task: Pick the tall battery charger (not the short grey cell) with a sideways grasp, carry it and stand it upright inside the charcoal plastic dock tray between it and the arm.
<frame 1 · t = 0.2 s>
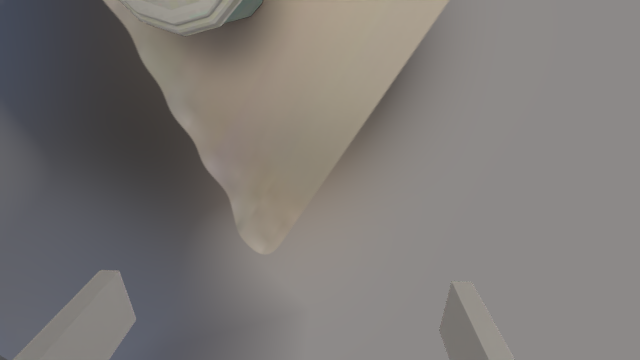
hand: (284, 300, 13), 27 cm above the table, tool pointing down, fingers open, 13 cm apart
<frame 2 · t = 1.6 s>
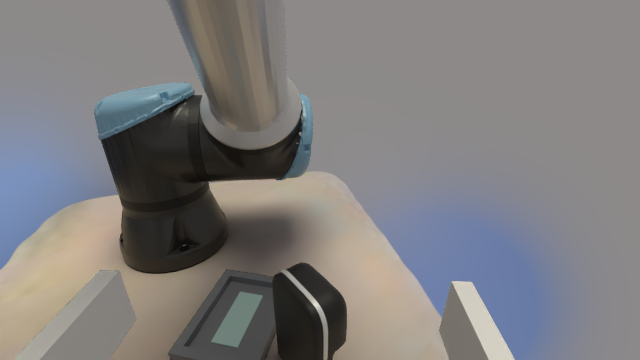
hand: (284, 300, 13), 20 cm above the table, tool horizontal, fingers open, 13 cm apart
dock: (239, 321, 35), on the table
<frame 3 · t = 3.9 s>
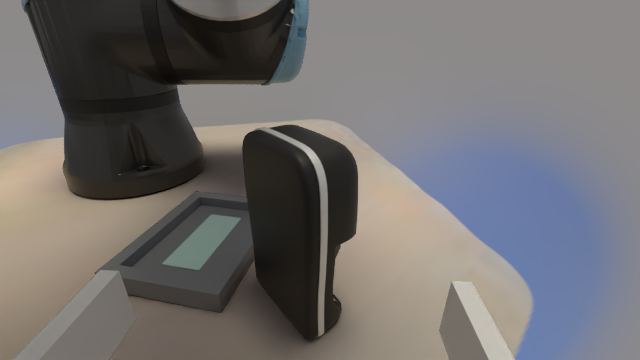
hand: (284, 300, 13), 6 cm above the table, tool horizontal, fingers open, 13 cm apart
battery charger: (303, 298, 21), on the table
dock: (207, 245, 26), on the table
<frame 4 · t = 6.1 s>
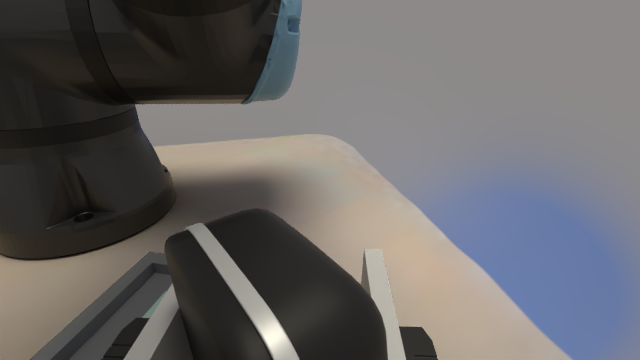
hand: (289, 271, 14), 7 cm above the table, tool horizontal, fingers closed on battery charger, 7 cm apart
dock: (151, 349, 18), on the table
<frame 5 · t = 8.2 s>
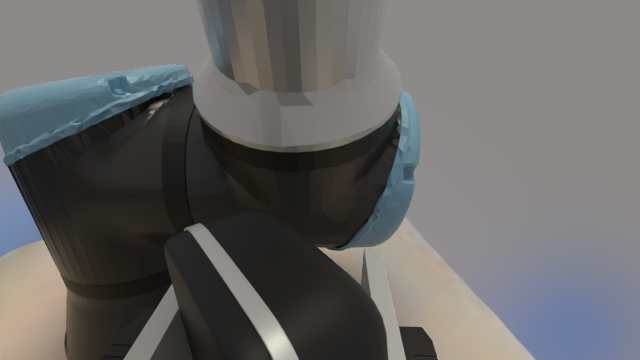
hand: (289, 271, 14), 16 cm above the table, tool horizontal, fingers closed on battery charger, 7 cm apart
when the fingers open (8 cm above the table, at t = 10.2 s): battery charger drops 1 cm, resting on dock.
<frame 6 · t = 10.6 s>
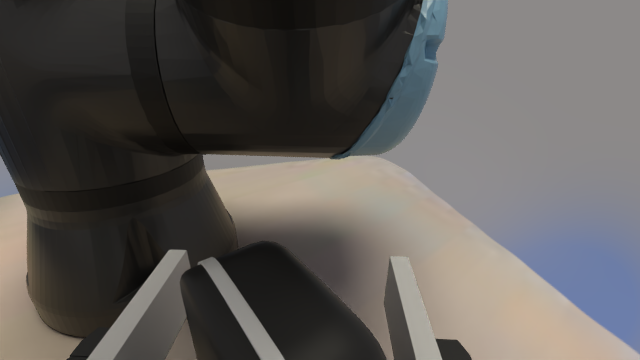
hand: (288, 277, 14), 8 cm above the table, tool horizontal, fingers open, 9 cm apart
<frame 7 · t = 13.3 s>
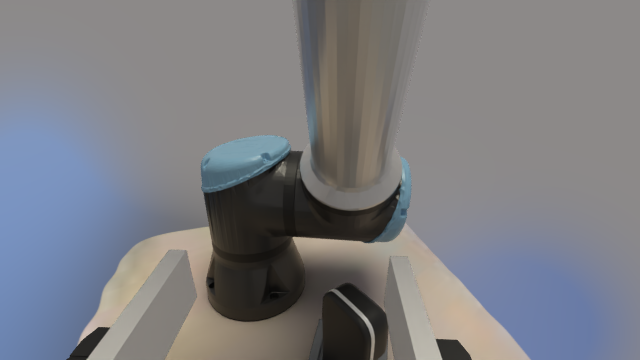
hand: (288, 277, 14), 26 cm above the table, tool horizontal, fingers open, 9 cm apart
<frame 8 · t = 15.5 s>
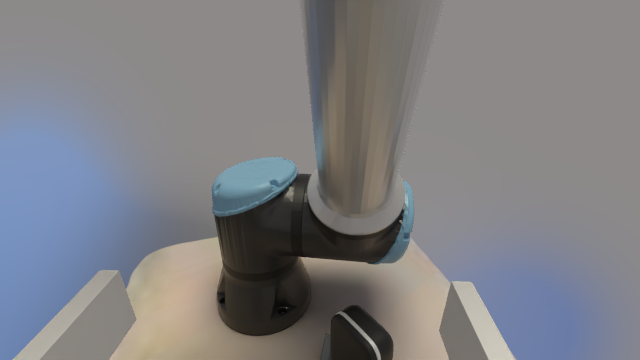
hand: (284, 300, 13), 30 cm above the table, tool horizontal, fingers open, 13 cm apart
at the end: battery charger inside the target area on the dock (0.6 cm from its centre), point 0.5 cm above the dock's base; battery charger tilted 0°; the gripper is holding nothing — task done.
